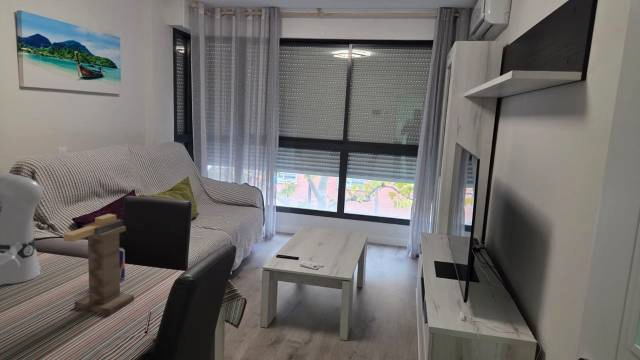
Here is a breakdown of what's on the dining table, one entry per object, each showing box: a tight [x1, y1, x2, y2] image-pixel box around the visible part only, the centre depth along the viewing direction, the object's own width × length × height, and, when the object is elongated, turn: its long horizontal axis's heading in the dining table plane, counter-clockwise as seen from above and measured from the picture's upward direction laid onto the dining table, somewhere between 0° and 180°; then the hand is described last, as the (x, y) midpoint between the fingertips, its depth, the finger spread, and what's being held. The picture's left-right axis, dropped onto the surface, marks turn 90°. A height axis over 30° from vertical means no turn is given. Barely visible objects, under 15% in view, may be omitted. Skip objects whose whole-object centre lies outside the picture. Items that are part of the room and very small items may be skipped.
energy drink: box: [119, 247, 126, 282], centre depth 156 cm, size 5×5×12 cm
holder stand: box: [74, 218, 135, 316], centre depth 136 cm, size 14×11×28 cm
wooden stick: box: [63, 213, 117, 243], centre depth 129 cm, size 3×18×4 cm, turn 166°
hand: (5, 241), depth 105 cm, fingers open, 8 cm apart
